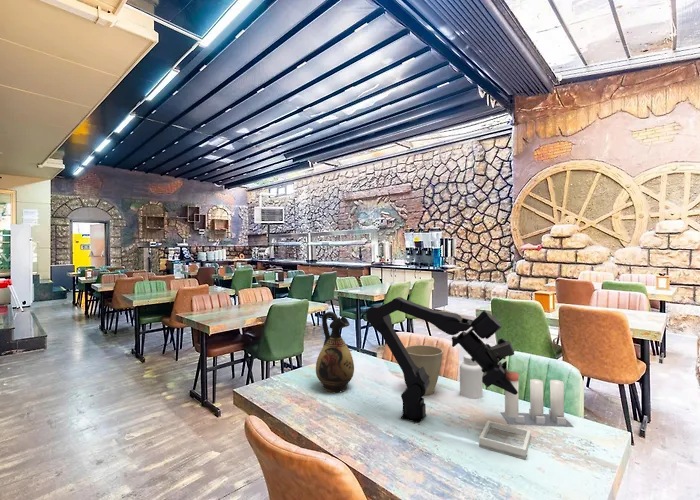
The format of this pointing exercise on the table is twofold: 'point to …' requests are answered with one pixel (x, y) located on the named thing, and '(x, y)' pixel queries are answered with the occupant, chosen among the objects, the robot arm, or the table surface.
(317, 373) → the ceramic jug
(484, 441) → the tray
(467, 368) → the pill bottle
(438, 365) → the plant pot
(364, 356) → the table surface
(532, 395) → the fuse panel
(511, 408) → the white cylinder orange top
